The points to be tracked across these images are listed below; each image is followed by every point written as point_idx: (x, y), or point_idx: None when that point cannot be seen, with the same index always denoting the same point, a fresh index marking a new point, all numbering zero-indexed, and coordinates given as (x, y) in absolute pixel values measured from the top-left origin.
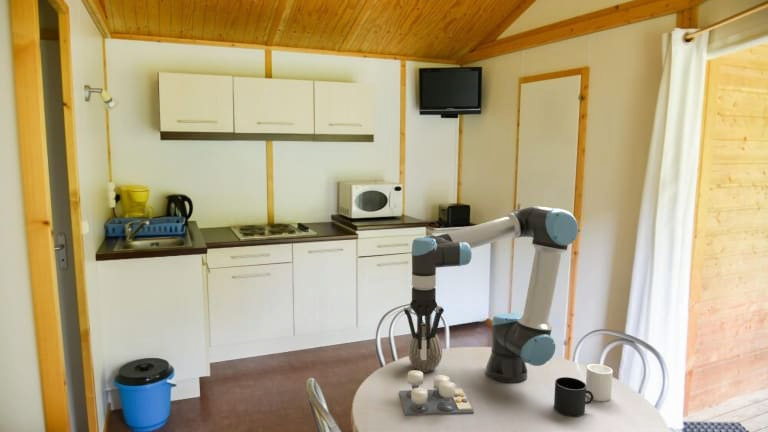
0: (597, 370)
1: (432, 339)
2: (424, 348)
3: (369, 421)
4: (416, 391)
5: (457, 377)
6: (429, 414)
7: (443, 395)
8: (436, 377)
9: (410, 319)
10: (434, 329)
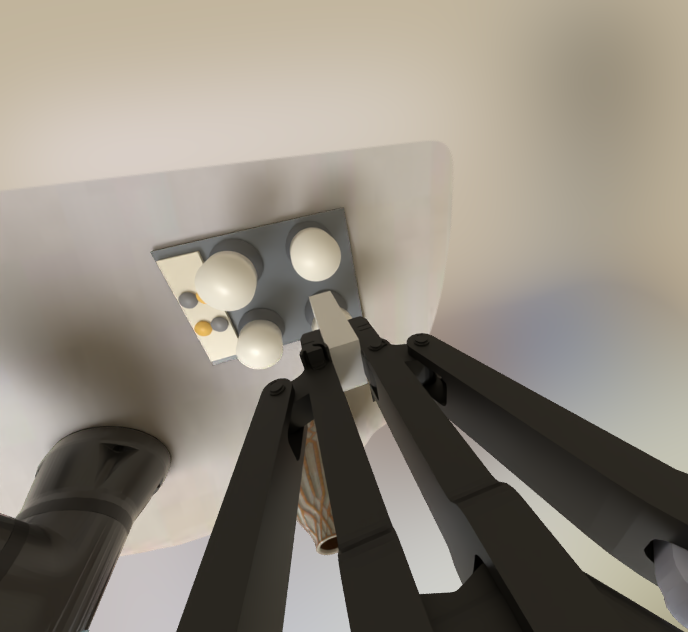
0: None
1: (306, 496)
2: (329, 318)
3: (427, 163)
4: (325, 254)
5: (236, 415)
6: (279, 222)
7: (238, 254)
8: (275, 352)
9: (596, 449)
10: (271, 437)
